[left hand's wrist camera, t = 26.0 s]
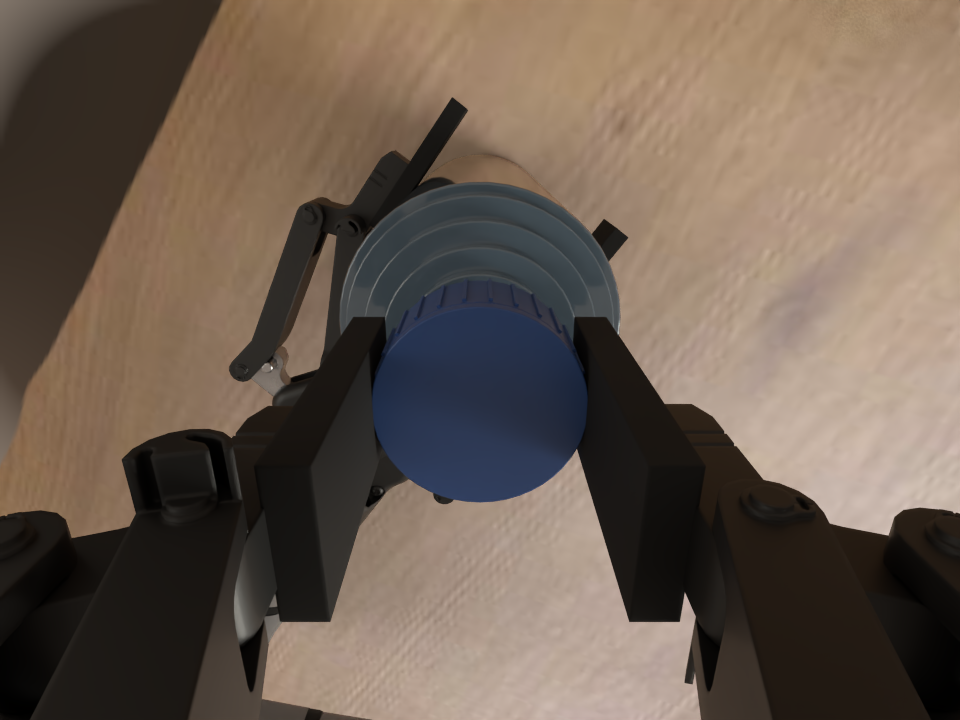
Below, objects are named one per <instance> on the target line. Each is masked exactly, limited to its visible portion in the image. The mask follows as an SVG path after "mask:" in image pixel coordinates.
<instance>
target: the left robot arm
mask: <svg viewBox="0 0 960 720" xmlns="http://www.w3.org/2000/svg"><path fill="white" fill-rule="evenodd" d="M386 342H387V338H386V323H385V317H353V318H352V320H351V321H350V323H349V324H348V326H347V327H346V329H345V330H344V332H343V333H342V335H341V336H340V338H339V339H338V341H337V342H336V343H335V345H334V346H333V348H332V349H331V351H330V352H329V354H328V355H327V357H326V358H325V360H324V361H323V363H322V364H321V366H320V367H319V369H318V370H317V372H316V373H315V375H314V376H313V378H312V379H311V381H310V382H309V384H308V385H307V387H306V388H305V390H304V391H303V393H302V394H301V396H300V397H299V399H298V400H297V402H296V403H295V405H294V406H267V407H266V408H264V409H262V410H261V411H259V412H257V413H256V414H254V415H253V416H251V417H249V418H248V419H247V420H246V421H245V422H244V423H243V425H242V426H241V427H240V428H239V430H238V431H237V432H236V436H233V437H232V438H230V437H229V436H228V435H226V434H225V433H224V432H220V431H215V430H211V429H189V430H183V431H178V432H172V433H168V434H165V435H162V436H159V437H156V438H153V439H150V440H148V441H146V442H144V443H143V444H141V445H139V446H137V447H135V448H133V449H132V450H131V451H130V452H129V453H128V454H127V455H126V456H125V457H124V458H123V459H122V463H123V466H124V470H125V474H126V478H127V481H128V485H129V489H130V493H131V496H132V500H133V504H134V508H135V511H136V515H135V517H134V519H133V521H132V523H131V525H130V526H129V527H126V528H122V529H118V530H113V531H107V532H102V533H97V534H92V535H87V536H82V537H76V538H71V535H70V532H69V528H68V525H67V522H66V520H65V519H64V518H63V517H61V516H60V515H59V514H58V513H54V512H47V511H31V512H18V513H13V514H8V515H7V516H5V515H4V516H1V517H0V720H259V715H260V707H261V699H262V692H263V684H264V676H265V668H266V661H267V653H268V645H269V644H268V637H267V630H266V625H265V619H264V618H265V616H266V613H267V611H268V609H269V606H270V604H271V602H272V600H273V597H274V595H275V596H276V602H277V608H278V614H279V620H280V622H330V621H331V618H332V614H333V611H334V608H335V604H336V601H337V598H338V594H339V591H340V588H341V584H342V581H343V578H344V575H345V571H346V568H347V565H348V561H349V558H350V555H351V551H352V548H353V545H354V541H355V538H356V535H357V532H358V528H359V525H360V522H361V518H362V515H363V512H364V508H365V505H366V502H367V499H368V495H369V492H370V489H371V485H372V482H373V479H374V475H375V472H376V469H377V465H378V462H379V459H380V456H381V452H382V449H383V448H382V446H381V444H380V442H379V440H378V438H377V435H376V432H375V429H374V420H373V407H372V387H373V383H374V380H375V377H374V374H375V371H376V369H377V367H378V364H379V362H380V360H381V357H382V355H381V354H382V352H383V349H384V347H385V345H386ZM573 344H574V346H575V349H576V351H577V354H578V356H579V358H580V361H581V363H582V365H583V368H584V370H585V374H584V378H585V381H586V384H587V390H588V401H587V415H586V427H585V431H584V434H583V437H582V439H581V441H580V443H579V446H578V448H577V450H578V453H579V457H580V460H581V463H582V467H583V470H584V473H585V477H586V480H587V483H588V487H589V490H590V493H591V496H592V500H593V503H594V506H595V510H596V513H597V516H598V520H599V523H600V526H601V530H602V533H603V536H604V539H605V543H606V546H607V549H608V553H609V556H610V559H611V563H612V566H613V569H614V573H615V576H616V579H617V582H618V586H619V589H620V592H621V596H622V599H623V602H624V606H625V609H626V612H627V616H628V619H629V622H680V617H681V611H682V605H683V599H684V594H685V593H686V595H687V598H688V600H689V602H690V604H691V607H692V609H693V611H694V613H695V616H696V619H695V625H694V630H693V636H692V641H691V647H690V652H689V658H688V663H687V669H686V675H685V683H688V684H693V679H694V674H695V675H696V682H697V690H698V698H699V706H700V713H701V720H960V514H959V513H956V514H955V513H953V512H952V511H947V510H941V509H939V510H938V509H928V508H914V509H908V510H903V511H902V512H900V513H899V514H898V515H897V516H895V518H894V521H893V524H892V527H891V530H890V533H889V536H887V535H882V534H877V533H872V532H866V531H861V530H856V529H851V528H846V527H841V526H837V525H833V524H830V523H829V522H828V520H827V518H826V516H825V514H824V512H823V511H822V510H821V509H820V508H819V506H818V505H817V504H816V503H815V502H814V501H813V500H811V499H810V498H808V497H807V496H805V495H804V494H802V493H801V492H799V491H797V490H795V489H792V488H790V487H787V486H785V485H782V484H780V483H775V482H771V481H766V480H763V479H762V477H761V476H760V475H759V474H758V472H757V471H756V470H755V469H754V467H753V466H752V465H751V464H750V462H749V461H748V460H747V459H746V458H745V456H744V455H743V454H742V453H741V451H740V450H739V449H738V448H737V446H734V443H733V441H732V440H731V439H730V438H729V436H728V435H727V434H724V430H723V429H722V428H721V427H720V425H719V424H718V423H717V422H716V420H715V419H714V418H713V417H712V416H711V415H709V414H707V413H706V412H704V411H702V410H701V409H699V408H697V407H696V406H694V405H692V404H664V402H663V401H662V399H661V398H660V396H659V395H658V393H657V392H656V390H655V389H654V387H653V386H652V384H651V383H650V381H649V380H648V378H647V377H646V376H645V374H644V373H643V371H642V370H641V368H640V367H639V365H638V364H637V362H636V361H635V359H634V358H633V356H632V355H631V353H630V352H629V350H628V349H627V347H626V346H625V344H624V343H623V341H622V340H621V338H620V337H619V335H618V334H617V332H616V331H615V329H614V328H613V326H612V325H611V323H610V322H609V320H608V319H607V317H574V332H573Z"/></svg>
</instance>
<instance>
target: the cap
mask: <svg viewBox="0 0 960 720" xmlns="http://www.w3.org/2000/svg"><path fill="white" fill-rule="evenodd" d="M381 355H382V357H381V360H380V362H379V364H378V367H377V369H376V371H375V374H374V377H375V380H374V383H373V387H372V407H373V420H374V429H375V432H376V435H377V438H378V440H379V442H380V444H381V446H382V448H383V450H384V451H385V453H386V454H387V456H388V458H389V459H390V460H391V461H392V463H393V464H394V465H395V466H396V467H397V468H398V469H399V470H400V471H401V472H402V473H403V474H404V475H405V476H406V477H407V478H409V479H410V480H412V481H413V482H414V483H416V484H417V485H419V486H421V487H423V488H424V489H426V490H428V491H430V492H433V493H435V494H438V495H440V496H443V497H447V498H450V499H454V500H460V501H466V502H494V501H500V500H506V499H509V498H513V497H516V496H520V495H522V494H525V493H527V492H529V491H532V490H533V489H535V488H537V487H539V486H541V485H542V484H544V483H545V482H547V481H548V480H549V479H551V478H552V477H553V476H555V475H556V474H557V473H558V472H559V471H560V470H561V469H562V468H563V467H564V466H565V465H566V463H567V462H568V461H569V460H570V458H571V457H572V455H573V454H574V452H575V451H576V449H577V448H578V446H579V443H580V441H581V439H582V437H583V434H584V431H585V427H586V415H587V401H588V390H587V384H586V381H585V378H584V374H585V370H584V368H583V365H582V363H581V361H580V358H579V356H578V354H577V351H576V349H575V346H574V344H573V342H572V339H571V337H570V335H569V332H568V330H567V328H566V326H565V324H564V325H562V324H561V323H560V321H559V320H558V318H557V317H556V315H555V313H554V310H553V309H552V308H551V307H550V308H548V307H547V306H546V305H545V304H543V303H542V302H541V301H540V300H539V299H537V297H536V295H535V294H534V293H532V295H531V294H530V293H528V292H526V291H523V290H521V289H519V288H517V287H515V284H512V283H511V285H508V284H505V283H500V282H494V281H492V279H488V281H482V280H477V281H468V279H464V282H460V283H455V284H452V285H449V286H446V287H445V285H442V286H441V288H440V289H438V290H436V291H434V292H432V293H430V294H429V295H427V296H426V297H425V296H424V295H423V296H421V298H420V301H418V302H417V303H416V304H415V305H414V306H413V307H412V308H411V309H410V310H409V311H407V310H405V311H404V313H403V316H402V318H401V321H400V322H399V324H398V325H397V327H396V329H395V328H393V329H392V331H391V333H390V336H389V338H388V340H387V342H386V345H385V347H384V349H383V352H382V354H381Z"/></svg>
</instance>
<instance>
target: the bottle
mask: <svg viewBox="0 0 960 720" xmlns="http://www.w3.org/2000/svg"><path fill="white" fill-rule="evenodd" d="M464 279H468V281H477V280H482V281H488V279H492V281H494V282H500V283H505V284H508V285H511V283H512V284H515V287H517V288H519V289H521V290H523V291H526V292H528V293H530V294H531V295H532V293H534V294H535V295H536V297H537V299H539V300H540V301H541V302H542V303H543V304H545V305H546V306H547V307H548V308H550V307H551V308H552V309H553V310H554V313H555V315H556V317H557V318H558V320H559V321H560V323H561V324H562V325H564V324H565V326H566V328H567V330H568V332H569V335H570V337H571V339H572V342H573V332H574V317H607V319H608V320H609V322H610V323H611V325H612V326H613V328H614V329H615V331H616V332H617V334H618V335H619V329H620V300H619V294H618V289H617V284H616V280H615V278H614V275H613V272H612V269H611V266H610V264H609V262H608V260H607V258H606V256H605V254H604V252H603V250H602V248H601V247H600V245H599V244H598V243H597V241H596V240H595V238H594V237H593V235H592V234H591V233H590V232H589V231H588V230H587V229H586V227H585V226H584V225H583V224H582V223H581V222H580V221H579V220H578V219H577V218H576V217H575V216H574V215H573V214H572V213H570V212H569V211H568V210H567V209H566V208H565V207H564V206H563V205H562V204H561V203H560V202H559V201H558V200H557V199H555V198H554V197H553V196H552V195H551V194H550V193H549V192H548V191H547V190H546V189H545V188H544V187H543V186H541V185H540V184H539V183H538V182H537V181H536V180H535V179H534V178H533V177H532V176H531V175H530V174H529V173H527V172H526V171H525V170H524V169H522V168H521V167H520V166H518V165H516V164H515V163H513V162H511V161H508V160H506V159H504V158H500V157H497V156H492V155H469V156H463V157H460V158H456V159H454V160H452V161H449V162H447V163H445V164H444V165H442V166H441V167H439V168H438V169H436V170H435V171H434V172H433V173H432V174H430V175H429V176H428V177H427V178H426V179H425V180H424V181H423V182H422V183H421V184H420V185H418V186H417V187H416V188H415V189H414V190H413V191H412V192H411V193H410V194H409V195H408V196H407V197H406V198H404V199H403V200H402V201H401V202H400V203H399V204H398V205H397V206H396V207H395V208H394V209H393V210H392V211H390V212H389V213H388V214H387V215H386V216H385V217H384V218H383V219H382V220H381V221H380V222H379V223H378V224H377V225H376V226H375V227H374V228H373V229H372V231H371V232H370V233H369V234H368V235H367V236H366V238H365V239H364V241H363V242H362V244H361V245H360V247H359V248H358V250H357V251H356V253H355V255H354V257H353V259H352V262H351V264H350V266H349V268H348V271H347V274H346V277H345V280H344V283H343V288H342V294H341V299H340V316H339V321H340V331H341V335H342V333H343V332H344V330H345V329H346V327H347V326H348V324H349V323H350V321H351V320H352V318H353V317H385V323H386V338H387V340H388V338H389V336H390V333H391V331H392V329H393V328H395V329H396V327H397V325H398V324H399V322H400V321H401V318H402V316H403V313H404V311H405V310H407V311H409V310H410V309H411V308H412V307H413V306H414V305H415V304H416V303H417V302H418V301H420V298H421V296H423V295H424V296H425V297H426V296H427V295H429V294H430V293H432V292H434V291H436V290H438V289H440V288H441V286H442V285H445V287H446V286H449V285H452V284H455V283H460V282H464Z"/></svg>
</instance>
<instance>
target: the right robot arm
mask: <svg viewBox="0 0 960 720" xmlns="http://www.w3.org/2000/svg"><path fill="white" fill-rule="evenodd" d="M467 111H468V110H467V109H466V108H465V107H464V106H463V105H461V104H460V103H459V102H458V101H456V100H455V99H454V98H453V97H452V98H451V100H450V101H449V103H448V104H447V106H446V108H445V109H444V111H443V112H442V114H441V115H440V117H439V118H438V120H437V121H436V123H435V124H434V126H433V127H432V129H431V130H430V132H429V134H428V135H427V137H426V138H425V140H424V141H423V143H422V144H421V146H420V147H419V149H418V150H417V152H416V153H415V155H414V156H413V158H412V159H411V161H409V160H408V159H406V158H405V157H404V156H402V155H401V154H400V153H398V152H397V151H396V150H395V151H391V152H389V153H388V154H387V155H385V156H384V157H382V158H381V159H380V161H379V162H378V164H377V165H376V167H375V169H374V170H373V172H372V173H371V175H370V177H369V178H368V180H367V181H366V183H365V184H364V186H363V188H362V189H361V191H360V192H359V194H358V195H357V197H356V199H355V200H354V202H353V203H352V204H351V205H342V204H338V203H335V202H332V201H330V200H329V199H327V198H324V197H321V198H317V199H314V200H312V201H310V202H307V203H305V204H303V205H301V206H300V207H299V209H298V210H297V213H296V215H295V218H294V221H293V224H292V227H291V230H290V233H289V236H288V238H287V241H286V244H285V247H284V250H283V253H282V256H281V259H280V261H279V264H278V267H277V270H276V273H275V276H274V279H273V282H272V284H271V287H270V290H269V293H268V296H267V299H266V302H265V304H264V307H263V310H262V313H261V316H260V319H259V322H258V325H257V327H256V330H255V333H254V336H253V339H252V341H251V342H250V343H249V344H248V345H247V346H246V348H245V349H244V350H243V351H242V352H241V353H240V354H239V355H238V356H237V357H236V358H235V360H234V361H233V362H232V363H231V365H230V366H229V371H230V374H231V376H232V377H233V378H234V379H236V380H238V381H242V382H244V381H248V380H250V379H252V380H254V381H255V382H256V383H257V384H259V385H260V386H261V387H262V388H264V389H265V390H266V391H267V392H269V393H270V394H271V395H272V396H273V401H272V406H294V405H295V403H296V402H297V400H298V399H299V397H300V396H301V394H302V393H303V391H304V390H305V388H306V387H307V385H308V384H309V382H310V381H311V379H312V378H313V376H314V375H315V373H316V372H317V370H318V369H317V370H314V371H311V372H308V373H304V374H301V375H298V376H295V377H291V378H290V377H289V376H288V375H287V373H286V369H285V367H286V364H287V362H288V358H289V356H288V353H287V350H286V348H285V347H283V346H282V344H283V343H284V342H285V341H286V339H287V338H288V336H289V334H290V332H291V330H292V328H293V326H294V323H295V320H296V318H297V315H298V312H299V310H300V307H301V304H302V302H303V299H304V296H305V293H306V291H307V288H308V285H309V283H310V280H311V277H312V275H313V272H314V269H315V267H316V264H317V261H318V259H319V256H320V253H321V251H322V248H323V245H324V243H325V240H326V237H327V234H328V233H330V234H333V235H337V239H336V248H335V257H334V266H333V275H332V284H331V293H330V301H329V310H328V319H327V328H326V337H325V346H324V352H323V355H322V358H321V363H320V366H321V364H322V363H323V361H324V360H325V358H326V357H327V355H328V354H329V352H330V351H331V349H332V348H333V346H334V345H335V343H336V342H337V341H338V339H339V338H340V336H341V331H340V321H339V316H340V299H341V294H342V288H343V283H344V280H345V277H346V274H347V271H348V268H349V266H350V264H351V262H352V259H353V257H354V255H355V253H356V251H357V250H358V248H359V247H360V245H361V244H362V242H363V241H364V239H365V238H366V236H367V235H368V234H369V233H370V232H371V231H372V229H373V228H374V227H375V226H376V225H377V224H378V223H379V222H380V221H381V220H382V219H383V218H384V217H385V216H386V215H387V214H388V213H389V212H390V211H392V210H393V209H394V208H395V207H396V206H397V205H398V204H399V203H400V202H401V201H402V200H403V199H404V198H406V197H407V196H408V195H409V194H410V193H411V192H412V191H413V190H414V189H415V188H416V187H417V186H418V185H419V183H420V182H421V180H422V179H423V177H424V176H425V174H426V173H427V171H428V170H429V168H430V167H431V165H432V164H433V162H434V161H435V159H436V158H437V156H438V155H439V153H440V152H441V150H442V149H443V147H444V146H445V144H446V143H447V141H448V140H449V138H450V137H451V135H452V134H453V132H454V131H455V129H456V128H457V126H458V125H459V123H460V122H461V120H462V119H463V117H464V116H465V114H466V113H467ZM592 235H593V237H594V238H595V240H596V241H597V243H598V244H599V245H600V247H601V248H602V250H603V252H604V254H605V256H606V258H607V260H608V262H609V260H610V259H611V258H612V257H613V256H614V254H615V253H616V252H617V251H618V249H619V248H620V247H621V246H622V245H623V243H624V242H625V241H626V240H627V239H628V237H627V236H626V235H625V234H623V233H622V232H621V231H620V230H618V229H617V228H616V227H614V226H613V225H612V224H610V223H609V222H608V221H606V220H605V219H604V220H603V221H602V222H601V223H600V225H599V226H598V227H597V228H596V230H595V231H594V232H593V233H592ZM408 479H409V478H407V477H406V476H405V475H404V474H403V473H402V472H401V471H400V470H399V469H398V468H397V467H396V466H395V465H394V464H393V463H392V461H391V460H390V459H389V458H388V456H387V454H386V453H385V451H384V450H383V449H382V452H381V456H380V459H379V462H378V465H377V469H376V472H375V475H374V479H373V482H372V485H371V489H370V492H369V495H368V499H367V502H366V505H365V508H364V512H363V515H362V518H361V522H360V525H361V524H362V522H363V521H364V520H365V519H366V517H367V516H368V515H369V514H370V512H371V511H372V510H373V509H374V507H375V506H376V505H377V504H378V502H379V501H380V500H381V499H382V497H383V496H384V495H385V493H386V492H387V491H388V490H389V489H390V488H392V487H394V486H396V485H398V484H400V483H403V482H405V481H406V480H408ZM433 495H434V499H435V500H436V501H437V502H439V503H441V504H448V503H451V502H452V501H453V500H454V499H450V498H447V497H443V496H440V495H438V494H435V493H433ZM360 525H359V526H360ZM264 619H265V625H266V630H267V637H268V643H269V641H270V640H271V638H272V636H273V634H274V633H275V631H276V630H277V628H278V627H279V626H280V625H281V623H282V622H280V620H279V614H278V608H277V602H276V596H275V595H274V597H273V600H272V602H271V604H270V606H269V609H268V611H267V613H266V616H265V618H264ZM259 720H370V719H364V718H357V717H351V716H345V715H339V714H333V713H326V712H322V711H321V710H316V709H310V708H307V707H301V706H296V705H291V704H285V703H280V702H275V701H269V700H264V699H261V707H260V715H259Z"/></svg>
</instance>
